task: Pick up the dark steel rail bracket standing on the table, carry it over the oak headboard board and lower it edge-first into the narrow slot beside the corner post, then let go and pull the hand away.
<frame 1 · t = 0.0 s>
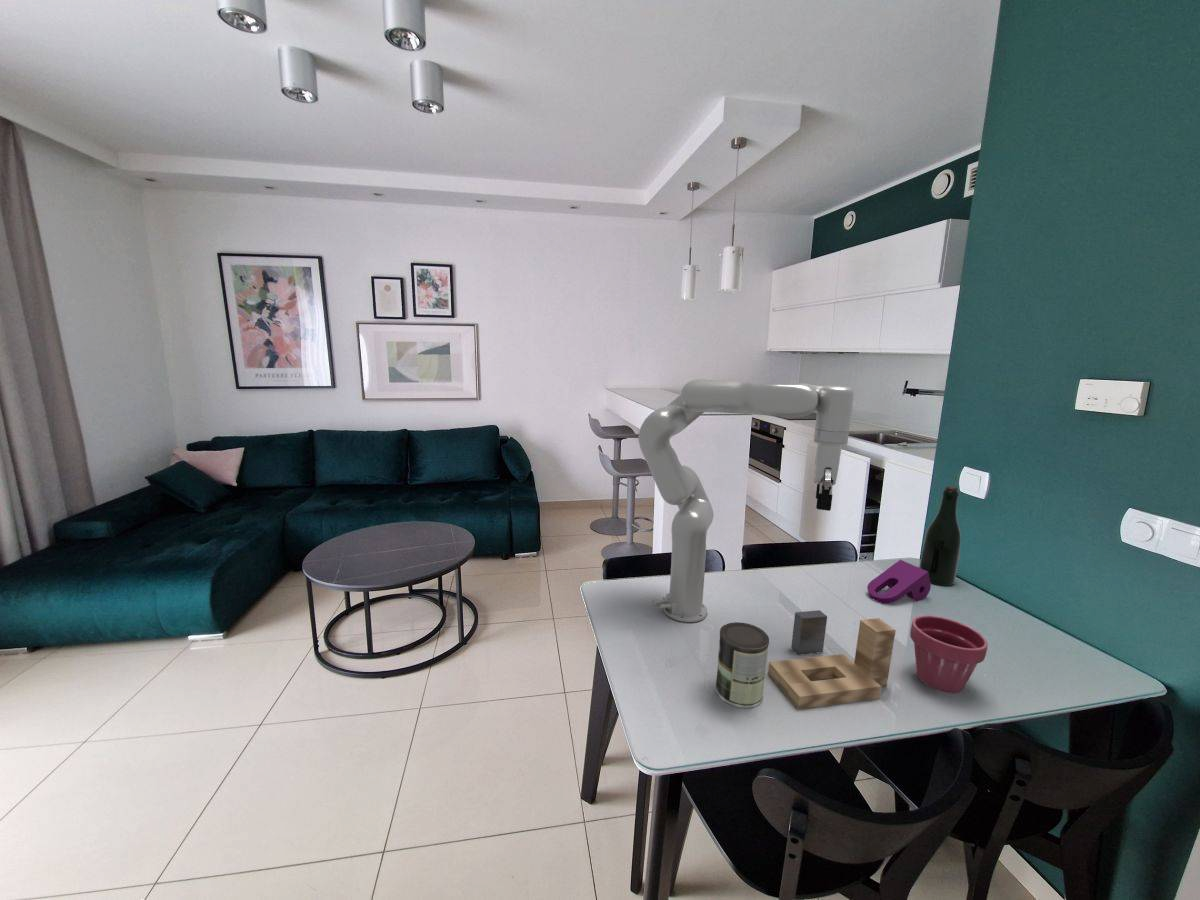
hand: (822, 504, 123), 37 cm above the table, tool pointing down, fingers open, 9 cm apart
rail bracket: (806, 650, 125), on the table
plant pot: (939, 681, 115), on the table
mounting bracket: (893, 597, 156), on the table
headboard: (821, 685, 112), on the table
beer bottle: (935, 580, 169), on the table
coffee can: (738, 693, 109), on the table
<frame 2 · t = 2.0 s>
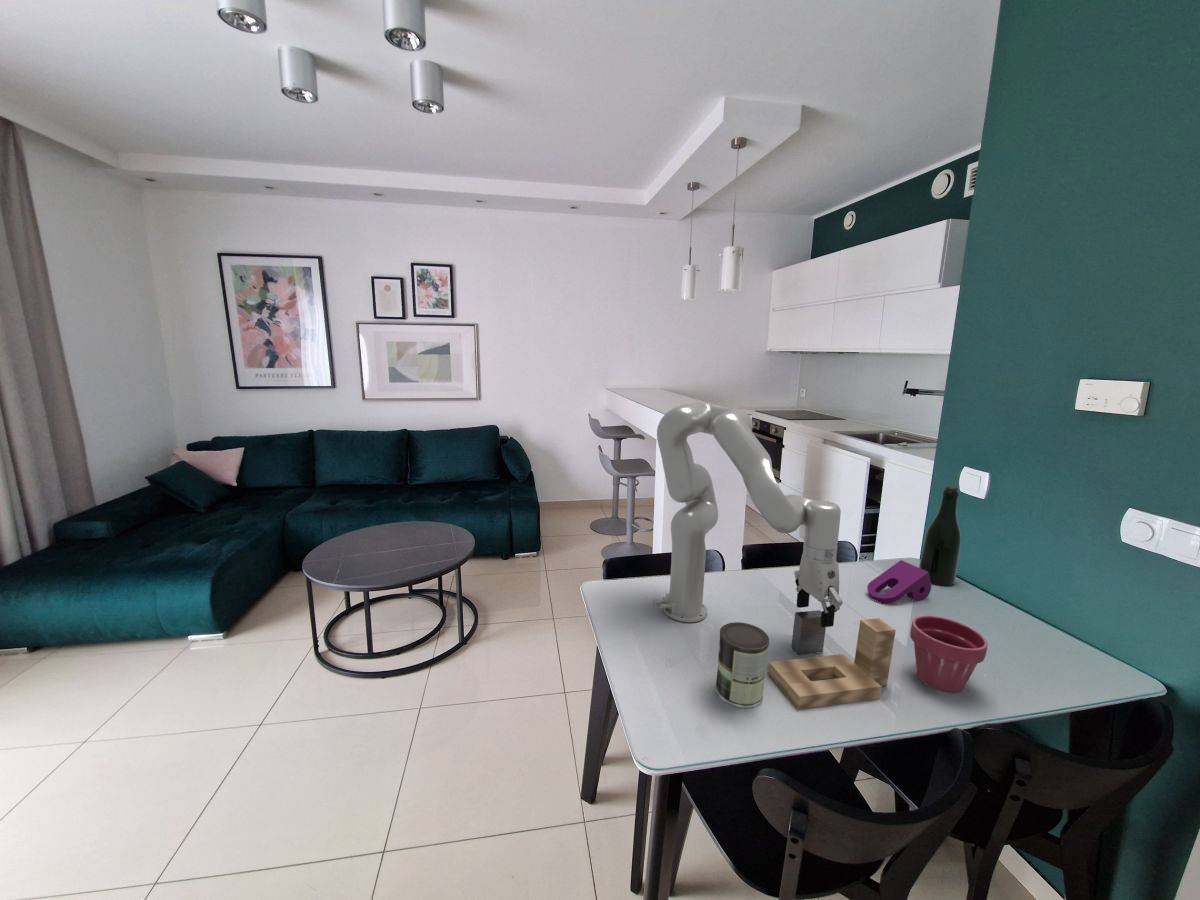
hand: (814, 616, 123), 10 cm above the table, tool pointing down, fingers open, 9 cm apart
nothing on the table moved.
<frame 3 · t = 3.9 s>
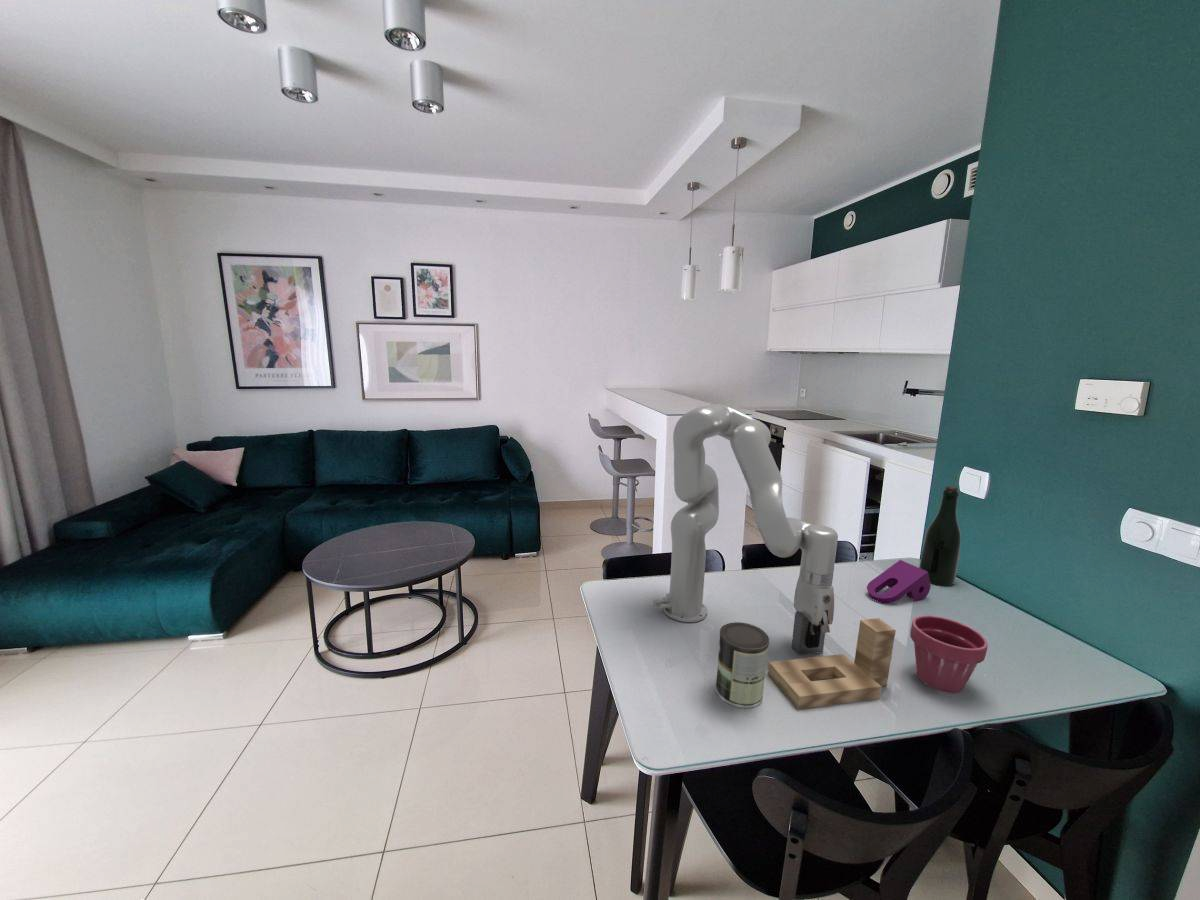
hand: (807, 642, 125), 2 cm above the table, tool pointing down, fingers closed on rail bracket, 3 cm apart
rail bracket: (806, 650, 125), on the table, touching gripper
everything else where it was.
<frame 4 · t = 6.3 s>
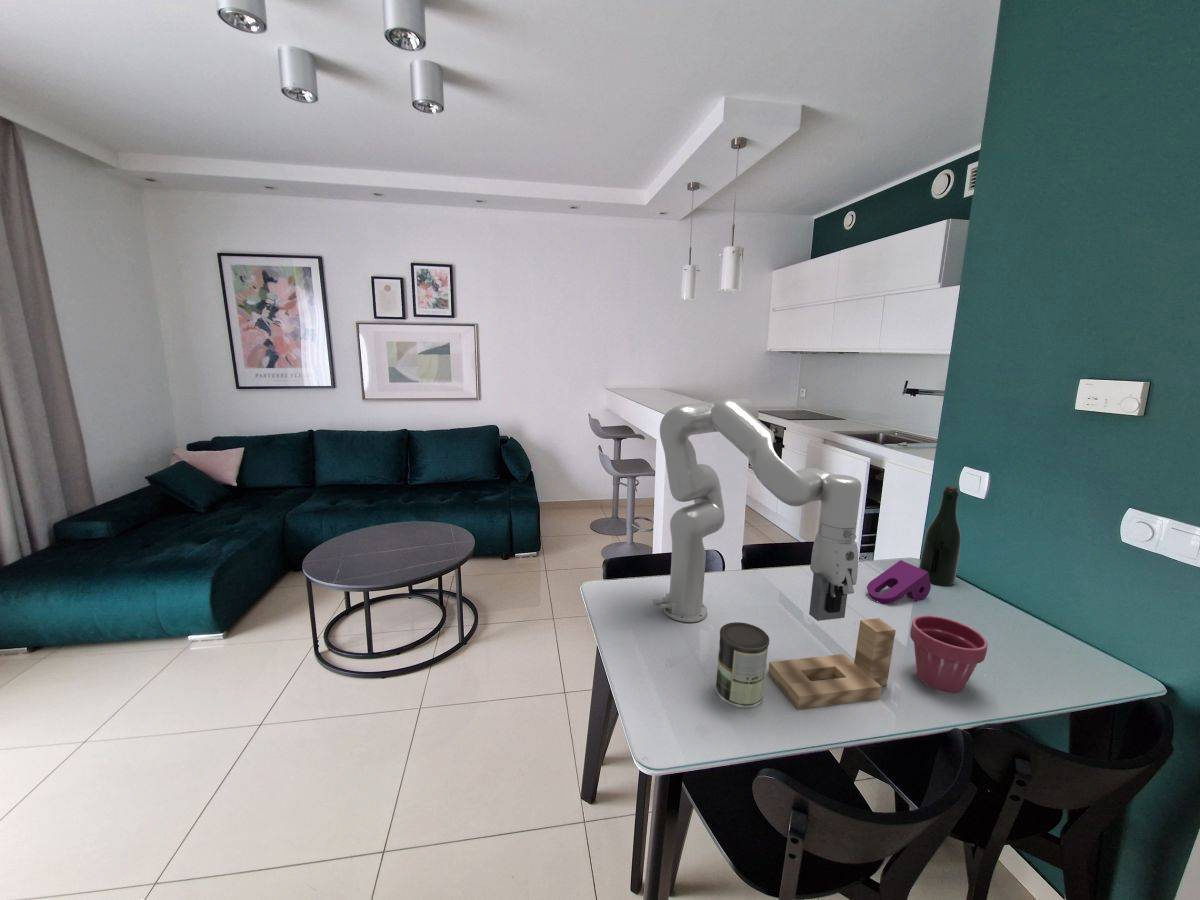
hand: (827, 607, 112), 18 cm above the table, tool pointing down, fingers closed on rail bracket, 3 cm apart
rail bracket: (826, 615, 112), point 15 cm above the table, touching gripper
everything else where it was.
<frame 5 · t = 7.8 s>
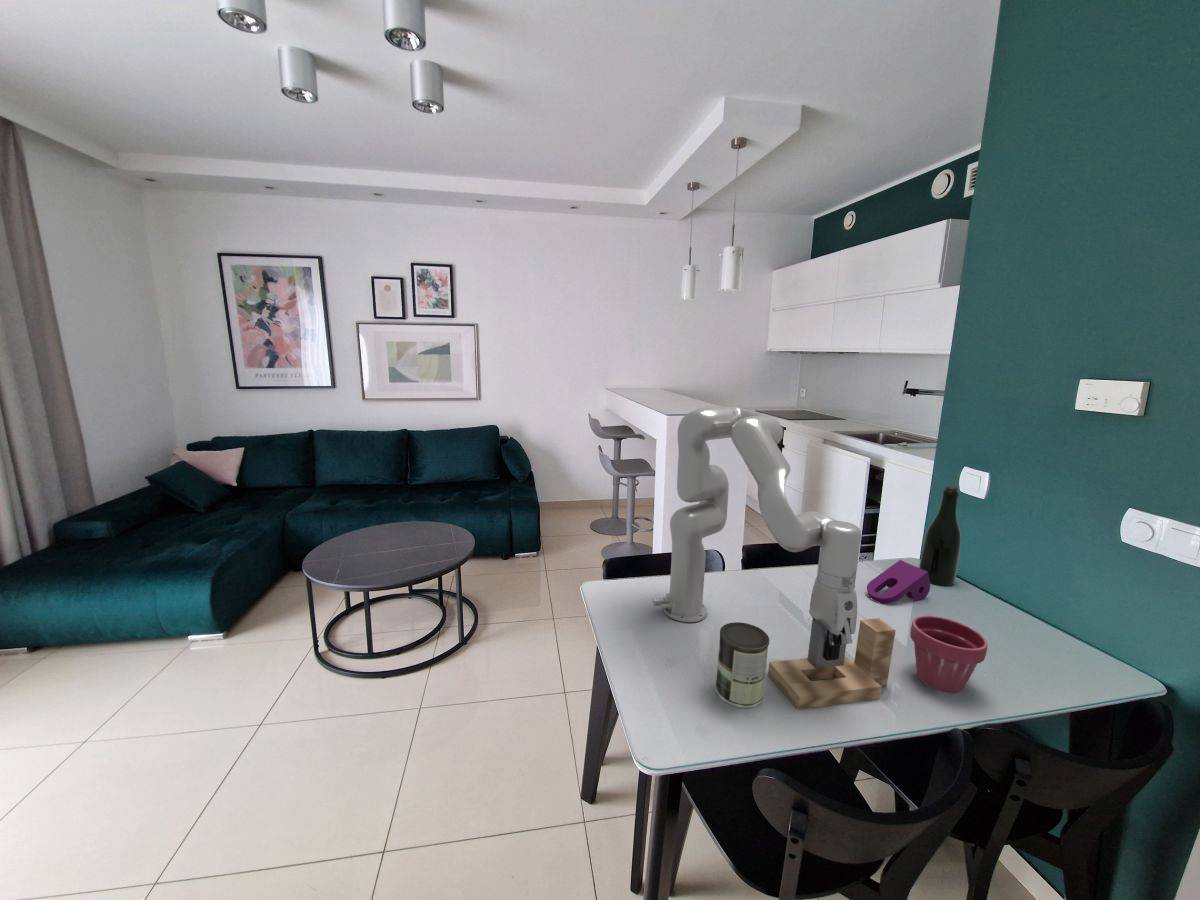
hand: (825, 653, 110), 8 cm above the table, tool pointing down, fingers closed on rail bracket, 3 cm apart
rail bracket: (825, 662, 111), point 6 cm above the table, touching gripper
everything else where it was.
when the fingers open (4 cm above the table, at t = 8.8 s): rail bracket drops 2 cm, resting in headboard.
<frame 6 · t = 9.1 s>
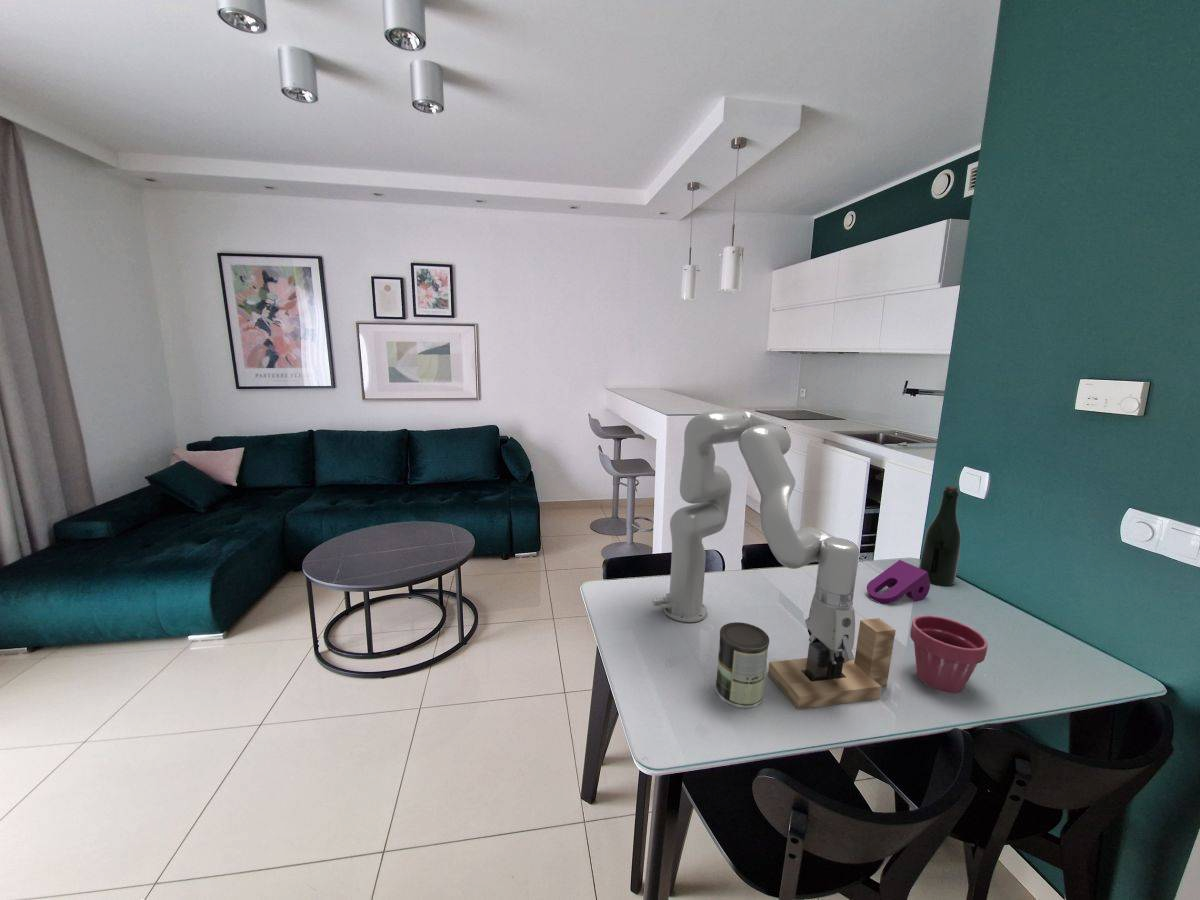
hand: (824, 667, 111), 5 cm above the table, tool pointing down, fingers open, 5 cm apart
rail bracket: (821, 685, 112), resting in headboard
everything else where it was.
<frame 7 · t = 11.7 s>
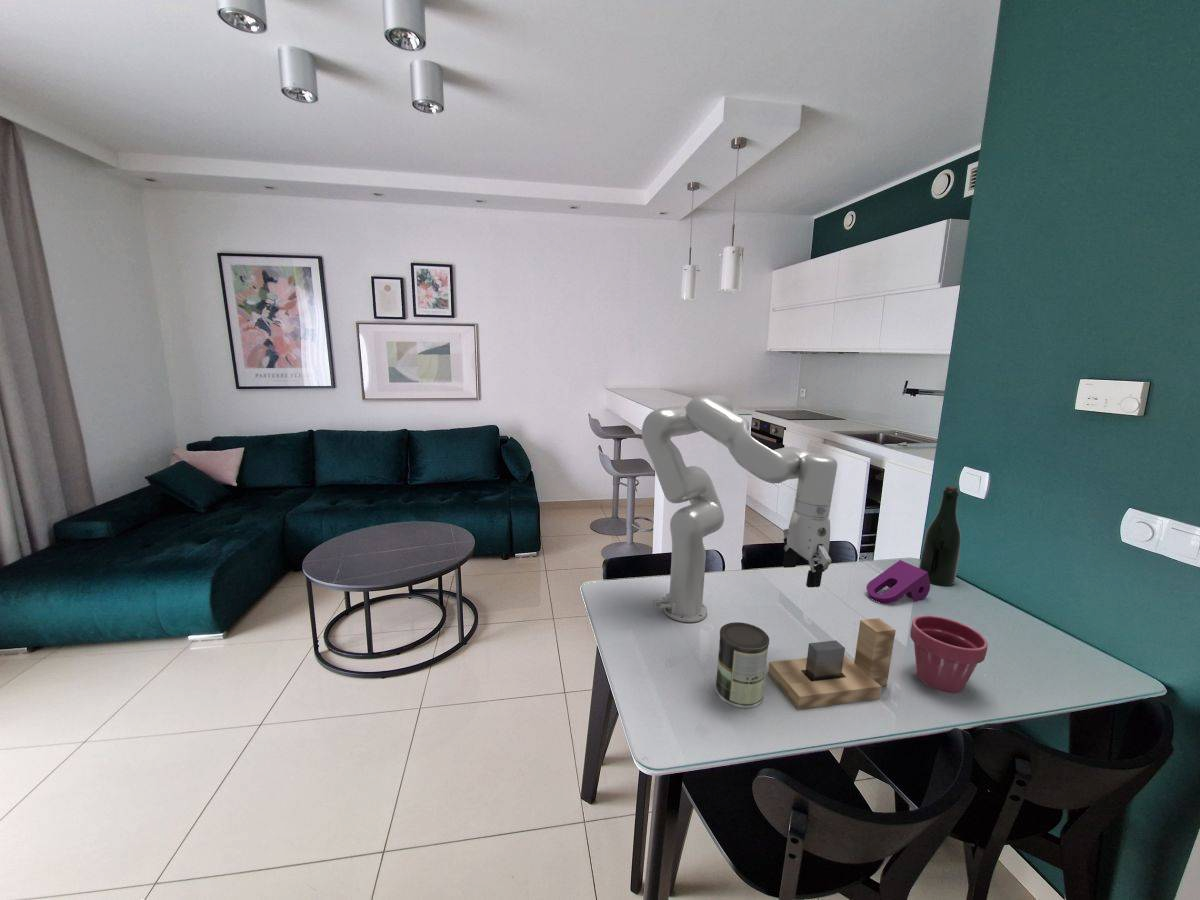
hand: (800, 576, 116), 22 cm above the table, tool pointing down, fingers open, 9 cm apart
nothing on the table moved.
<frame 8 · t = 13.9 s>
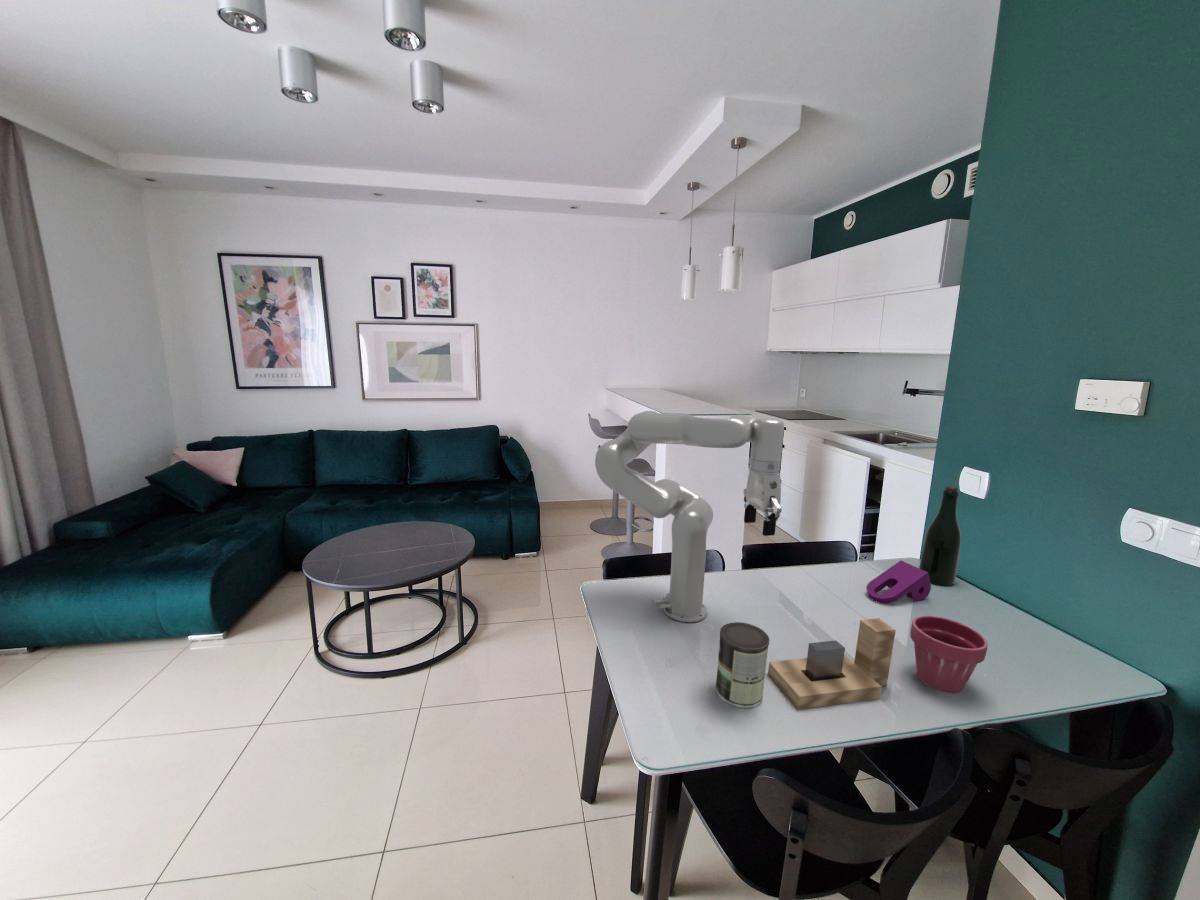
hand: (758, 528, 131), 28 cm above the table, tool pointing down, fingers open, 9 cm apart
nothing on the table moved.
at the end: rail bracket 0.2 cm off-centre on the headboard, point 0.0 cm above the headboard's base; rail bracket tilted 0°; the gripper is holding nothing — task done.
